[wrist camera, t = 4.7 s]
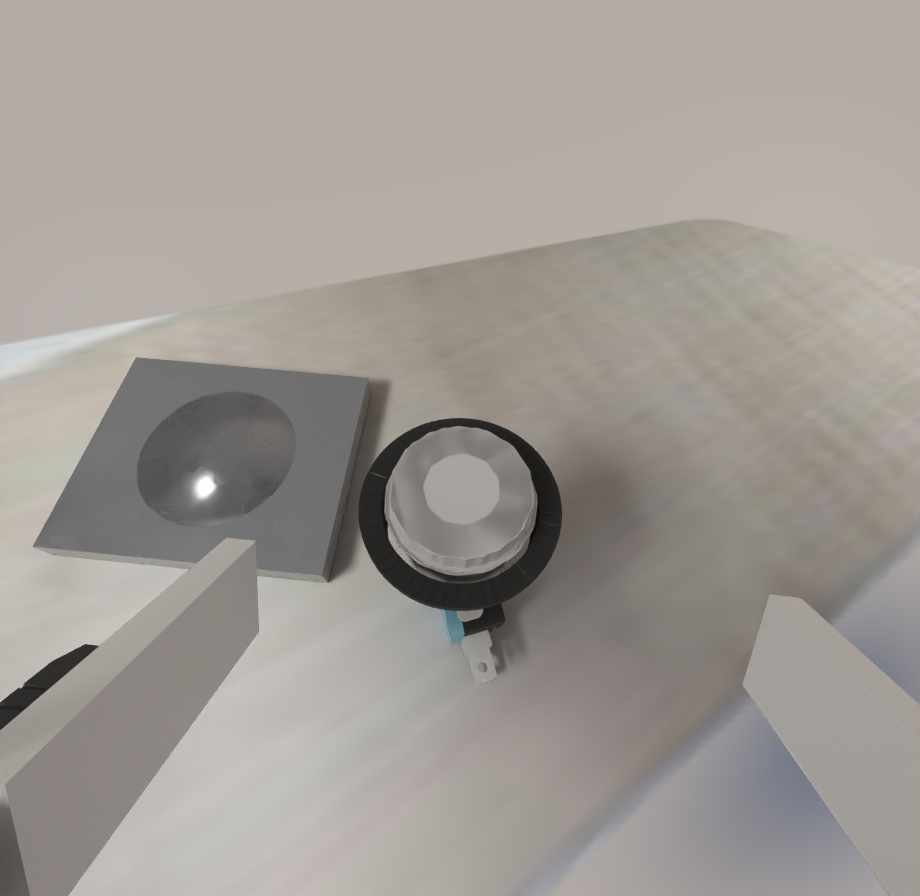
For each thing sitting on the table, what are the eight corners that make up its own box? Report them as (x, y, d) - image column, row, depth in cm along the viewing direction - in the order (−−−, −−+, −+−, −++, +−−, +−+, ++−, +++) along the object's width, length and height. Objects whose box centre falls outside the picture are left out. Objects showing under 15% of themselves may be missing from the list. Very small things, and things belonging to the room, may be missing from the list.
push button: (546, 663, 19) (632, 622, 10) (416, 704, 18) (387, 699, 9) (495, 512, 22) (527, 380, 13) (381, 541, 21) (336, 422, 12)
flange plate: (53, 554, 20) (32, 546, 19) (149, 372, 25) (135, 357, 24) (328, 582, 20) (321, 575, 19) (371, 392, 25) (367, 378, 24)
